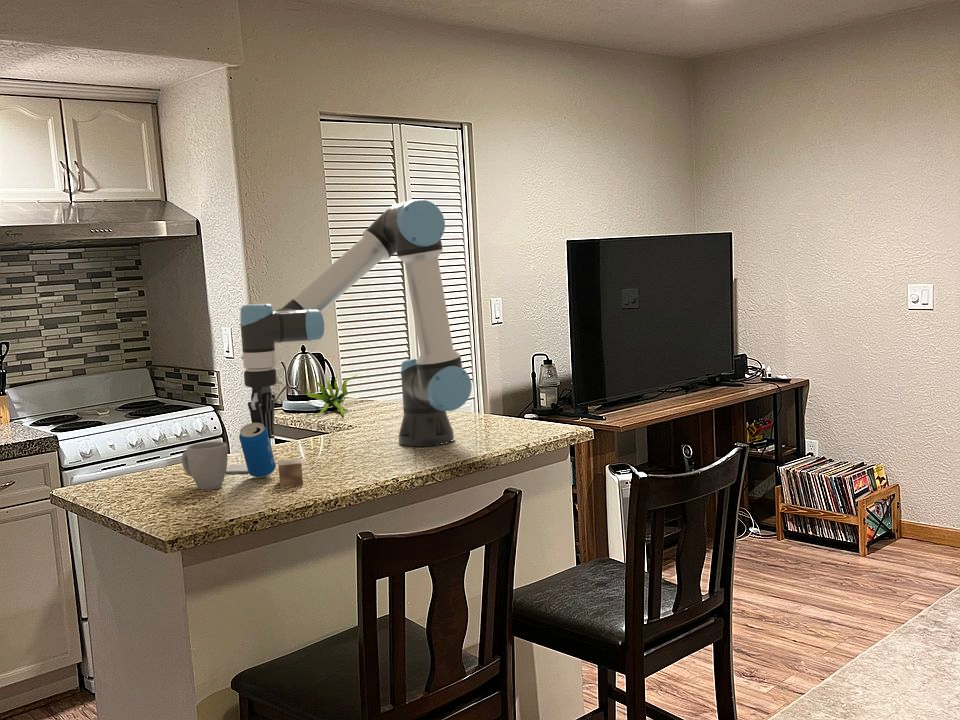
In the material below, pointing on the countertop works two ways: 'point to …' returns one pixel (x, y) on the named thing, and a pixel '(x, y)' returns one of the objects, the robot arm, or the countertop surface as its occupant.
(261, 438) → the beverage can
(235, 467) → the tile
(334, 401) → the decorative plant
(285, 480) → the walnut block
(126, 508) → the countertop surface
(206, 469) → the mug
